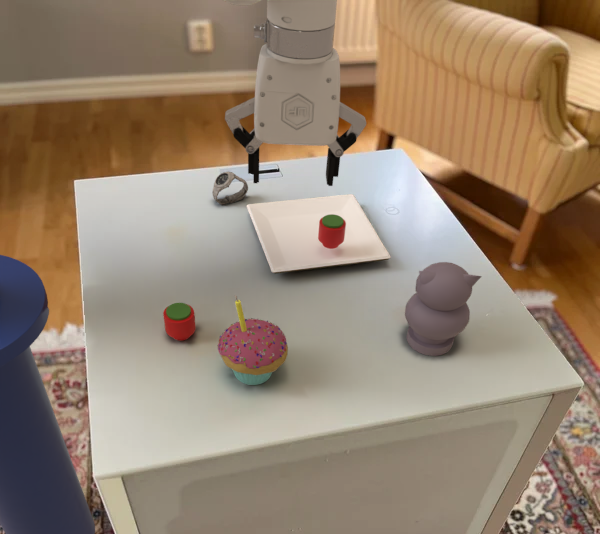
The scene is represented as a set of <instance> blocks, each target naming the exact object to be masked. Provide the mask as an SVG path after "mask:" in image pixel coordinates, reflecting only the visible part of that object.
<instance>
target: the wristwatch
mask: <svg viewBox="0 0 600 534" xmlns="http://www.w3.org/2000/svg"><path fill="white" fill-rule="evenodd" d="M234 180H237V181H239V182H240V183H242V184H243V186H242V188H241V189H240V190H239V191H237V192H235V193H233V194H230V195H225V197H223V198H218V195H219V193H220V192H222V191H223V190H226V189H227V188H230V185H231V184H232V182H233V181H234ZM248 191H249V185H248V183H247V181H246V180H245V179H244V178H242V177H240V176H238V175H236V173H234V172H232V171H224V172H221V173H219V175H217V176H216V178H215V180H214V183H213V188H212V193H211V194H212V198H213V199H214V201H215V202H216V203H218V204H219V205H220V206H223V205H229V204H234V203H237V202H239V201H241V200H243V199H244V198H245V196H247V193H248Z"/></svg>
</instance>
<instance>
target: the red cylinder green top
mask: <svg viewBox="0 0 600 534" xmlns="http://www.w3.org/2000/svg"><path fill="white" fill-rule="evenodd" d="M345 228H346V222H345V220H344V219H343V218H342V217H340V216H338V215H333V214H331V215H326V216H324V217H323V218H321V219H320V221H319V233H318V239H319V241H320V242H321V243H322V244H323V246H324V247H326V248H329V249H334V248H337V247H338V246H339V245H340V244H342V243H343V241H344V237H345Z"/></svg>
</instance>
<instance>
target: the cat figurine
mask: <svg viewBox="0 0 600 534" xmlns="http://www.w3.org/2000/svg"><path fill="white" fill-rule="evenodd" d="M482 277H483V276H482V275H476V274H469V272H467V270H465V269H464V268H463V267H462V266H461V265H459V264H456V263H453V262H449V261H439V262H435V263H432V264H430V265H428V266H426V267H424V268H423V269H422V270H419V271H418V276H417V278H416V281H415V292H416V293H413V295H412V296H411V297H410V298H409V299H408V301H407V302H406V304H405V309H404V317H405V320H406V323H407V325H408V328H407V332H406V341H407V344H408V346H409V347H411V349H412V350H414V351H416V352H417V353H419V354H422V355H424V356H430V357H436V356H437V357H439V356H442V355H445V354H447V353H449V352H450V350H451V349H452V347H453V345H454V342H455V338H456V336H458V335H460V334H461V333H462V332H464V330H465V329H466V327H467V326H468V324H469V322H470V318H471V315H470V313H471V310H470V307H469V305H468V303H467V302H468V300H469V299H470V297H471V295H472V293H473V286H474V285H475V284H476V283H477V282H478V281H479V280H480V279H481V278H482Z"/></svg>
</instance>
